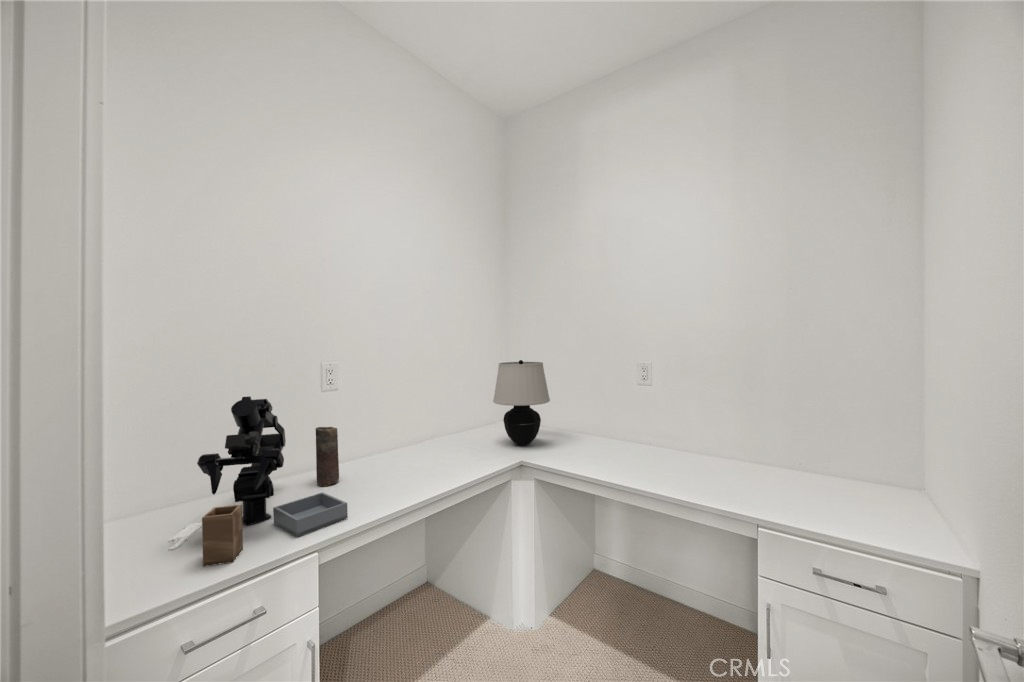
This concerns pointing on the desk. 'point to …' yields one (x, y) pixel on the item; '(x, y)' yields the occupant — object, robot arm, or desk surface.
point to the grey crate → (309, 514)
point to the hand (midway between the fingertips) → (234, 491)
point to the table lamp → (521, 398)
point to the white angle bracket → (185, 534)
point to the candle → (327, 456)
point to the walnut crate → (222, 534)
